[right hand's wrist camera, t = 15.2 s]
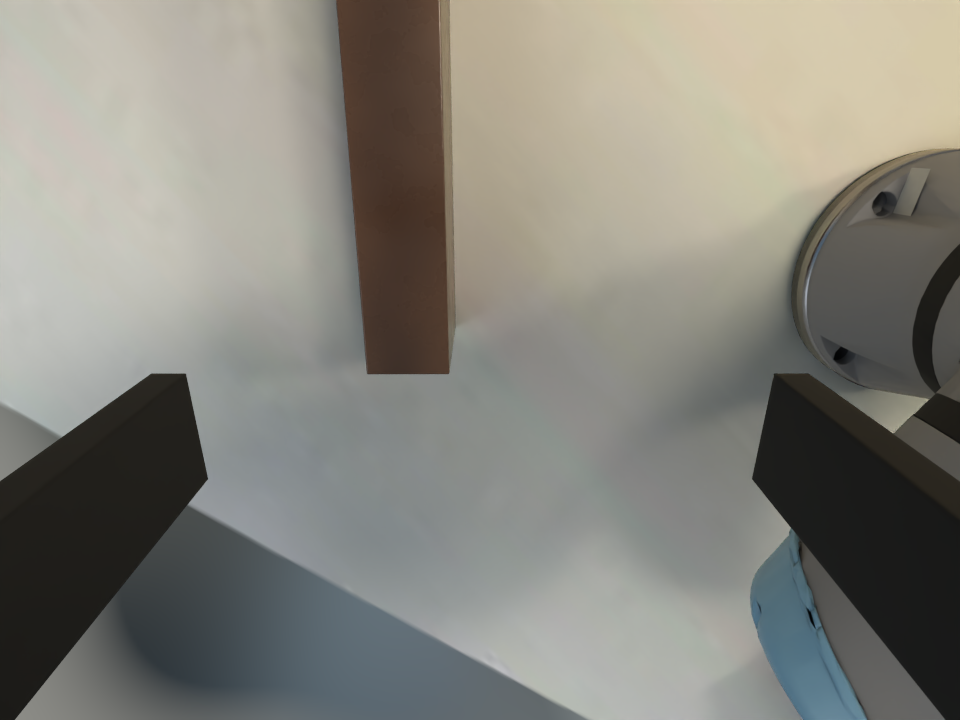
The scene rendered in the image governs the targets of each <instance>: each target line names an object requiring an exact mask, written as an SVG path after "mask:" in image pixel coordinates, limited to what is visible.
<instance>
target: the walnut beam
mask: <svg viewBox="0 0 960 720" xmlns="http://www.w3.org/2000/svg"><path fill="white" fill-rule="evenodd" d="M336 5H337V17H338V29H339V41H340V53H341V65H342V77H343V89H344V101H345V114H346V126H347V138H348V150H349V162H350V174H351V186H352V198H353V210H354V223H355V235H356V247H357V259H358V271H359V283H360V295H361V307H362V319H363V332H364V344H365V356H366V368H367V374H449V371H450V364H451V357H452V349H453V342H454V334H455V280H454V227H453V173H452V120H451V66H450V12H449V0H336Z"/></svg>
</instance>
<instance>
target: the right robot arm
mask: <svg viewBox="0 0 960 720" xmlns="http://www.w3.org/2000/svg"><path fill="white" fill-rule="evenodd" d="M791 298H792V311H793V317H794V321H795V324H796V327H797V330H798V332H799V335H800V337H801V339H802V340H803V342H804V344H805V345H806V347H807V348H808V349H809V351H810V352H811V353H812V354H813V355H814V356H815V357H816V358H817V359H818V360H819V361H820V362H821V363H823V364H824V365H825V366H827V367H828V368H830V369H832V370H833V371H835V372H836V373H838V374H839V375H841V376H842V377H844V378H845V379H847V380H849V381H851V382H853V383H855V384H858V385H861V386H863V387H867V388H871V389H875V390H880V391H886V392H892V393H898V394H904V395H910V396H916V397H922V398H928V399H930V400H929V401H928V402H926V403H925V404H924V405H923V406H922V407H921V408H920V409H919V410H918V411H917V412H916V413H915V414H914V415H912V416H911V417H910V418H909V419H908V420H907V421H906V422H905V423H904V424H903V425H902V426H901V427H900V428H899V429H898V430H897V431H896V432H895V433H894V434H893V433H891V432H890V431H888V430H887V429H886V428H884V427H883V426H881V425H880V424H879V423H877V422H876V421H874V420H873V419H872V418H870V417H869V416H867V415H866V414H864V413H863V412H862V411H860V410H859V409H857V408H856V407H855V406H853V405H852V404H850V403H849V402H848V401H846V400H845V399H843V398H842V397H841V396H839V395H838V394H836V393H835V392H834V391H832V390H831V389H829V388H828V387H827V386H825V385H824V384H822V383H821V382H820V381H818V380H817V379H815V378H814V377H812V376H811V375H810V374H774V377H773V382H772V387H771V391H770V396H769V401H768V406H767V410H766V415H765V420H764V425H763V429H762V434H761V439H760V444H759V448H758V453H757V458H756V463H755V467H754V472H753V477H752V480H753V481H754V482H755V483H756V485H757V486H758V487H759V488H760V489H761V491H762V492H763V493H764V494H765V496H766V497H767V498H768V499H769V501H770V502H771V503H772V504H773V506H774V507H775V508H776V509H777V511H778V512H779V513H780V514H781V516H782V517H783V518H784V519H785V521H786V522H787V523H788V524H789V526H790V527H791V529H790V532H789V536H788V537H787V538H786V539H785V540H784V541H783V542H782V543H781V545H780V546H779V547H778V548H777V549H776V550H775V551H774V552H773V553H772V554H771V556H770V557H769V558H768V559H767V560H766V561H765V562H764V563H763V564H762V566H761V567H760V568H759V570H758V571H757V572H756V574H755V577H754V579H753V581H752V586H751V593H750V604H751V611H752V617H753V620H754V623H755V625H756V628H757V632H758V638H759V640H760V643H761V645H762V648H763V650H764V652H765V654H766V657H767V659H768V661H769V663H770V665H771V667H772V669H773V671H774V673H775V675H776V677H777V678H778V680H779V682H780V684H781V686H782V687H783V689H784V691H785V692H786V694H787V696H788V697H789V699H790V701H791V702H792V704H793V705H794V707H795V708H796V710H797V711H798V713H799V714H800V716H801V717H802V719H803V720H960V149H948V148H947V149H932V150H926V151H920V152H916V153H912V154H908V155H905V156H903V157H900V158H897V159H894V160H892V161H890V162H888V163H885V164H883V165H881V166H880V167H878V168H876V169H874V170H872V171H871V172H869V173H867V174H866V175H864V176H863V177H861V178H860V179H859V180H857V181H856V182H855V183H853V184H852V185H851V186H849V187H848V188H847V189H846V190H845V191H844V192H843V193H842V194H841V195H839V196H838V197H837V198H836V199H835V201H834V202H833V203H832V204H831V205H830V206H829V207H828V208H827V209H826V211H825V212H824V213H823V214H822V216H821V217H820V218H819V220H818V221H817V223H816V224H815V226H814V227H813V229H812V230H811V232H810V234H809V236H808V237H807V239H806V241H805V243H804V246H803V248H802V250H801V252H800V255H799V258H798V261H797V264H796V268H795V271H794V276H793V282H792V295H791ZM207 480H208V477H207V472H206V467H205V463H204V458H203V453H202V448H201V444H200V439H199V434H198V429H197V425H196V420H195V415H194V410H193V406H192V401H191V396H190V391H189V387H188V382H187V377H186V374H150V375H149V376H148V377H146V378H145V379H143V380H142V381H140V382H139V383H138V384H136V385H135V386H133V387H132V388H131V389H129V390H128V391H126V392H125V393H124V394H122V395H121V396H119V397H118V398H117V399H115V400H114V401H112V402H111V403H110V404H108V405H107V406H105V407H104V408H103V409H101V410H100V411H98V412H97V413H96V414H94V415H93V416H91V417H90V418H88V419H87V420H86V421H84V422H83V423H81V424H80V425H79V426H77V427H76V428H74V429H73V430H72V431H70V432H69V433H67V434H66V435H65V436H63V437H62V438H60V439H59V440H58V441H56V442H55V443H53V444H52V445H51V446H49V447H48V448H46V449H45V450H44V451H42V452H41V453H39V454H38V455H37V456H35V457H34V458H32V459H31V460H29V461H28V462H27V463H25V464H24V465H22V466H21V467H20V468H18V469H17V470H15V471H14V472H13V473H11V474H10V475H8V476H7V477H6V478H4V479H3V480H1V481H0V720H15V719H16V718H17V716H18V715H19V714H20V713H21V711H22V710H23V709H24V708H25V706H26V705H27V704H28V703H29V701H30V700H31V699H32V698H33V696H34V695H35V694H36V693H37V691H38V690H39V689H40V688H41V686H42V685H43V684H44V683H45V681H46V680H47V679H48V678H49V676H50V675H51V674H52V673H53V671H54V670H55V669H56V668H57V666H58V665H59V664H60V663H61V661H62V660H63V659H64V658H65V656H66V655H67V654H68V653H69V651H70V650H71V649H72V648H73V647H74V645H75V644H76V643H77V642H78V640H79V639H80V638H81V637H82V635H83V634H84V633H85V632H86V630H87V629H88V628H89V627H90V625H91V624H92V623H93V622H94V620H95V619H96V618H97V617H98V615H99V614H100V613H101V612H102V610H103V609H104V608H105V607H106V605H107V604H108V603H109V602H110V600H111V599H112V598H113V597H114V595H115V594H116V593H117V592H118V590H119V589H120V588H121V587H122V585H123V584H124V583H125V582H126V580H127V579H128V578H129V577H130V575H131V574H132V573H133V572H134V570H135V569H136V568H137V567H138V565H139V564H140V563H141V562H142V561H143V559H144V558H145V557H146V556H147V554H148V553H149V552H150V551H151V549H152V548H153V547H154V546H155V544H156V543H157V542H158V540H159V539H160V538H161V537H162V536H163V534H164V533H165V532H166V531H167V529H168V528H169V527H170V526H171V524H172V523H173V522H174V521H175V519H176V518H177V517H178V516H179V514H180V513H181V512H182V511H183V509H184V508H185V507H186V506H187V504H188V503H189V502H190V501H191V499H192V498H193V497H194V496H195V494H196V493H197V492H198V491H199V489H200V488H201V487H202V486H203V485H204V483H205V482H206V481H207Z"/></svg>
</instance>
